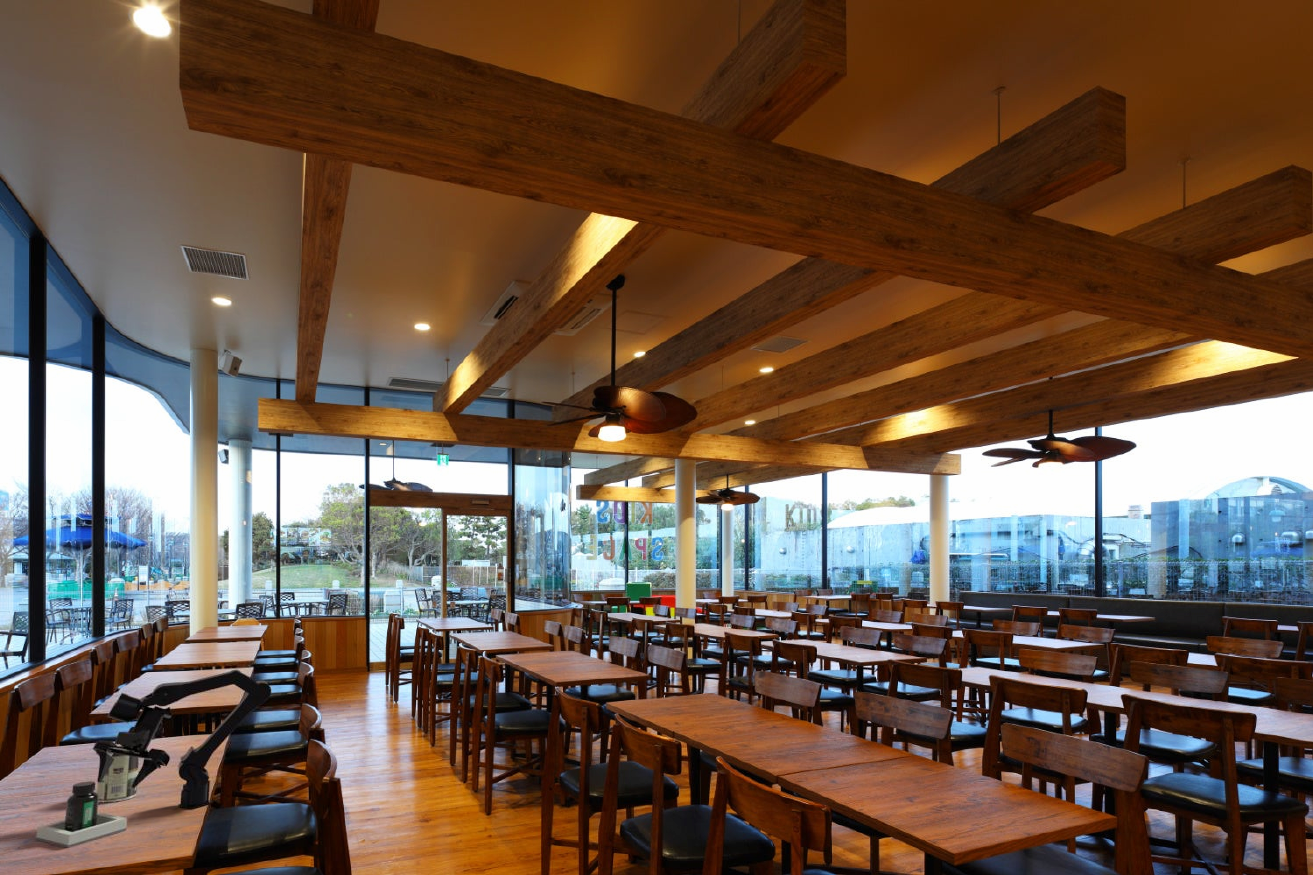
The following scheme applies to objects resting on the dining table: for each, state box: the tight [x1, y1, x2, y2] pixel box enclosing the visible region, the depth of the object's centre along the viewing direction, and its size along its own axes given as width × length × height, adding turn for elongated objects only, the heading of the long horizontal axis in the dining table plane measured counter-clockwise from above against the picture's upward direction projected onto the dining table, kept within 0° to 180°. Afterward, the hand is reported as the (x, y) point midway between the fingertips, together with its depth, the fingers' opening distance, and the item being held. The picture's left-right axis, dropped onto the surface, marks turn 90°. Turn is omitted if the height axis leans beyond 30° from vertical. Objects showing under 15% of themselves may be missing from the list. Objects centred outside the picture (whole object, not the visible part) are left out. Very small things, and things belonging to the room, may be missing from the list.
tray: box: [35, 811, 128, 848], centre depth 210 cm, size 14×14×3 cm
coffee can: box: [96, 745, 140, 804], centre depth 243 cm, size 10×10×14 cm
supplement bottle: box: [64, 780, 99, 832], centre depth 210 cm, size 7×7×12 cm
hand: (115, 784), depth 219 cm, fingers open, 9 cm apart
